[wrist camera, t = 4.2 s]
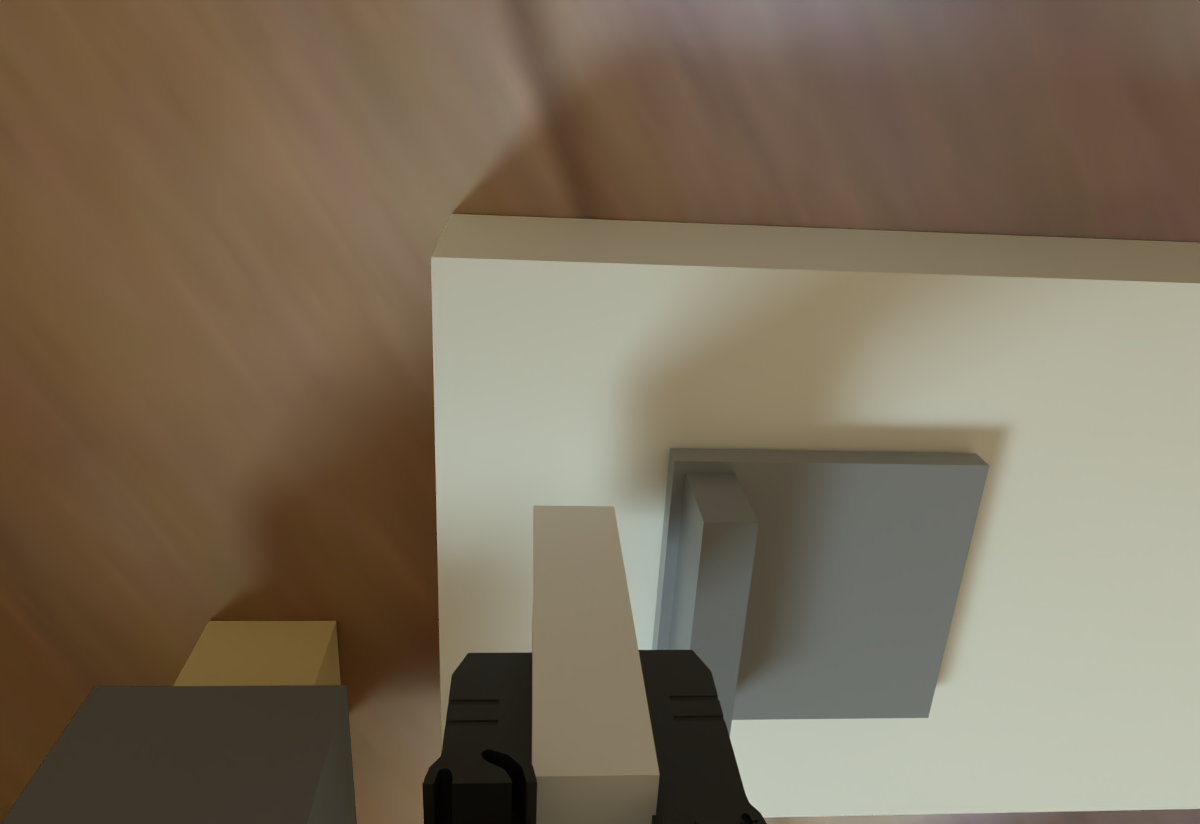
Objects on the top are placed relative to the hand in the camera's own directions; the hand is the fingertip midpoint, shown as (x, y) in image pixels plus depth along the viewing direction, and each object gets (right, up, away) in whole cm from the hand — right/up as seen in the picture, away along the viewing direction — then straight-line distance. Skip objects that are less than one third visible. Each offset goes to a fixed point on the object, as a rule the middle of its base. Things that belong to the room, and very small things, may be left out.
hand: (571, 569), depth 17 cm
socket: (+8, +1, +7) cm, 11 cm away
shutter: (+5, -1, +3) cm, 6 cm away
